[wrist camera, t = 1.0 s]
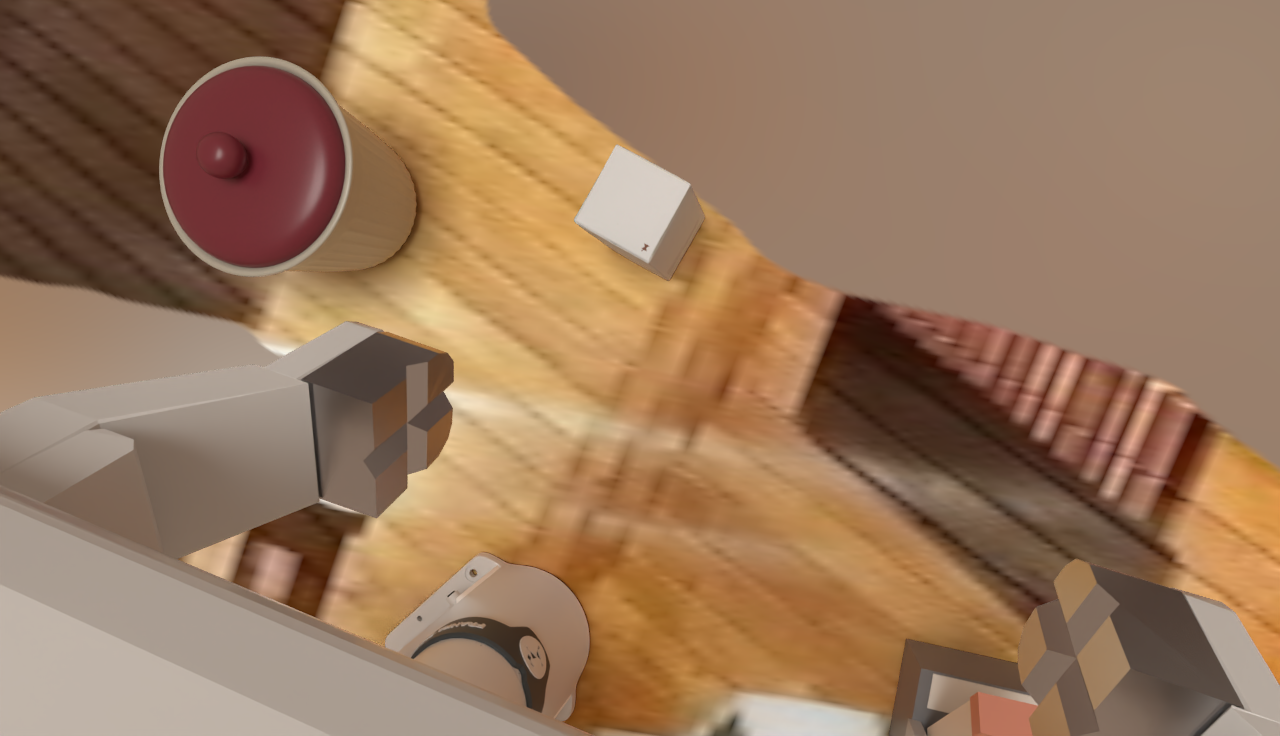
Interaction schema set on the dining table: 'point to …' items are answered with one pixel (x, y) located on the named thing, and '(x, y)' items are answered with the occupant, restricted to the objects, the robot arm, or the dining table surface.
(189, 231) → the canister
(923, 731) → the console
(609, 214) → the supplement box
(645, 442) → the dining table surface
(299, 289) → the dining table surface
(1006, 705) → the lever
